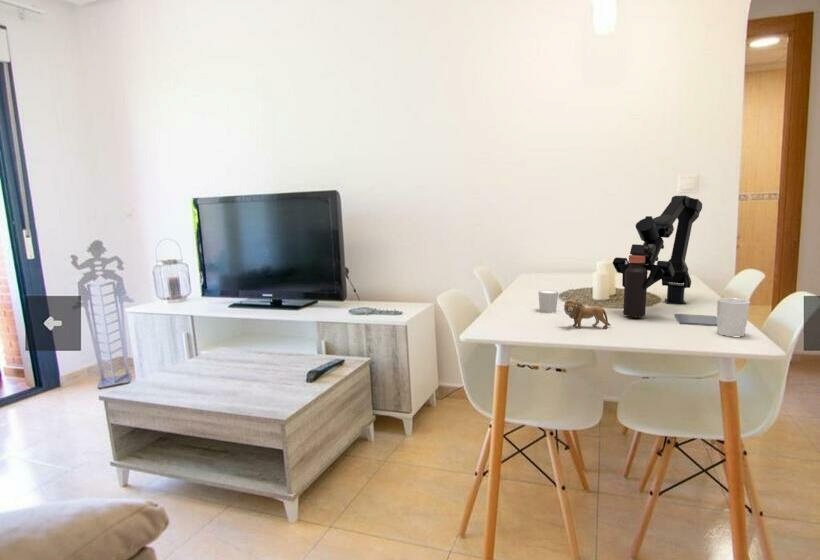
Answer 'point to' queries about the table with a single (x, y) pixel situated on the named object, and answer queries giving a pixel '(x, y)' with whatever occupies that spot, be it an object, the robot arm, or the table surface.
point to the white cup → (732, 316)
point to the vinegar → (635, 287)
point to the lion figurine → (584, 313)
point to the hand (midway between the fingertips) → (633, 287)
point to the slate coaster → (696, 319)
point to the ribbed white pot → (548, 301)
